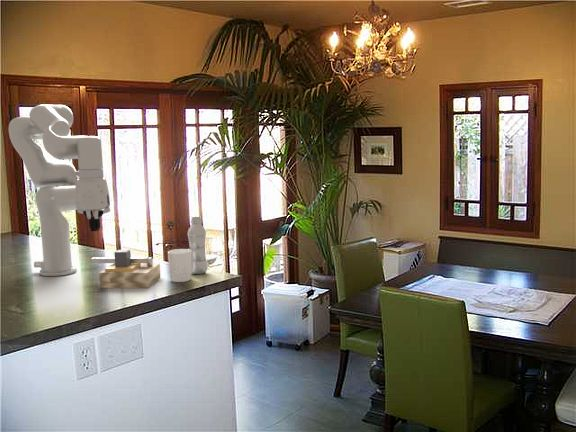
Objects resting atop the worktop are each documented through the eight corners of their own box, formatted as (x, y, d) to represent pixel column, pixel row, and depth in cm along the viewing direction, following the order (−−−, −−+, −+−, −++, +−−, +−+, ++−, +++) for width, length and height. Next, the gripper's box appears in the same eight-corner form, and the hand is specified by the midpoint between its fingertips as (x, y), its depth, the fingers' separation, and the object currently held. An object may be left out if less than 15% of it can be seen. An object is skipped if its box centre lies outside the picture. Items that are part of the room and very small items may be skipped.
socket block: (99, 287, 201) (99, 272, 201) (115, 277, 215) (114, 263, 214) (147, 287, 200) (147, 272, 199) (160, 277, 214) (159, 263, 213)
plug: (105, 280, 202) (104, 253, 201) (115, 274, 211) (114, 248, 210) (132, 280, 202) (131, 253, 200) (141, 274, 210) (139, 248, 209)
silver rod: (91, 266, 209) (90, 258, 209) (93, 264, 211) (93, 257, 211) (151, 266, 207) (151, 258, 207) (153, 264, 209) (153, 257, 209)
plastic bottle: (195, 276, 214) (193, 219, 211) (185, 273, 219) (183, 217, 216) (211, 273, 218) (209, 217, 215) (201, 270, 223) (199, 215, 220)
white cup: (189, 276, 215) (188, 248, 214) (194, 281, 208) (193, 252, 206) (167, 278, 212) (165, 250, 211) (171, 283, 205) (170, 254, 204)
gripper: (63, 176, 197) (68, 232, 199) (109, 175, 195) (113, 232, 198) (74, 174, 204) (78, 229, 207) (117, 173, 203) (121, 228, 205)
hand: (95, 230), depth 202 cm, fingers closed
